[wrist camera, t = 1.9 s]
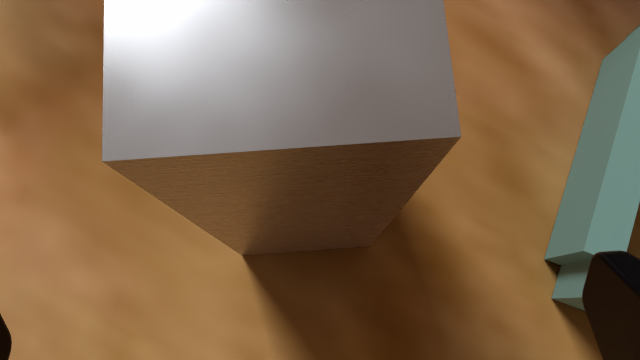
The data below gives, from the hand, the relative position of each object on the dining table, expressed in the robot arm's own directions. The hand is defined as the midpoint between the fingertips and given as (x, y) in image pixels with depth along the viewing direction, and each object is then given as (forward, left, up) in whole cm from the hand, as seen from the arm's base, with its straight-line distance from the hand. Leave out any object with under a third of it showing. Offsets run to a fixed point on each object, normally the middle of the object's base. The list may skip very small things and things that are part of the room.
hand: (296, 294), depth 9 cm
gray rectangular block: (+3, -3, -11) cm, 12 cm away
